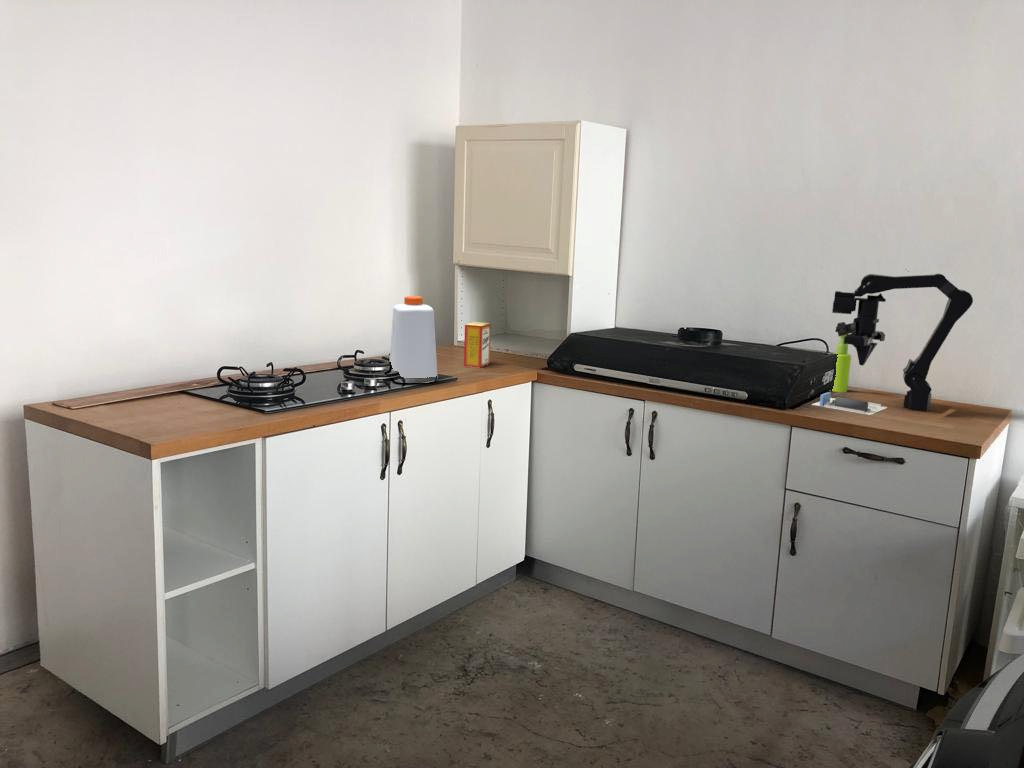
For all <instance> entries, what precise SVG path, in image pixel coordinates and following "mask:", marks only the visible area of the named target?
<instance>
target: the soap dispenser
mask: <svg viewBox="0 0 1024 768" xmlns="http://www.w3.org/2000/svg"><path fill="white" fill-rule="evenodd" d="M845 336H846V335H843V336H839V337H840V339H839V340H840V341H839V342H838V343H837V344H836V352H835V353H833V354H838V355H837V357H838V358H837V362H836V375H835V376H836V377H835V380H834V386H833V389H832V391H831V392H836V393H837V392H838V393H847V392H848V388H849V387H848V386H849V380H850V379H849V377H850V368H851V359H852V358H851V357H852V355H851V354H848V349H849V348H848V347H849V344H844V337H845Z"/></svg>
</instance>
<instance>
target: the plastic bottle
mask: <svg viewBox="0 0 1024 768" xmlns="http://www.w3.org/2000/svg"><path fill="white" fill-rule="evenodd" d="M391 323H392V324H391V336H390V348H389V349H390V350H389V362H391V365H392V368H393V370H394V371H398V372H399V374H400V376H401V377H404V378H427V377H428V378H429V377H436V376H437V377H438V366H437V365H438V362H437V347H436V344H437V343H436V329H435V328H436V327H435V326H436V325H435V310H434V309H433V308H432V306H430V305H429V304H424V301H423V297H422V296H417V295H415V296H414V295H412V296H411V295H409V296H407V295H406V296H405V297H404V302H403V303H402V304H401V303H400V304H399V303H398V304H395V305H394V306H393V309H392V321H391Z"/></svg>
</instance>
